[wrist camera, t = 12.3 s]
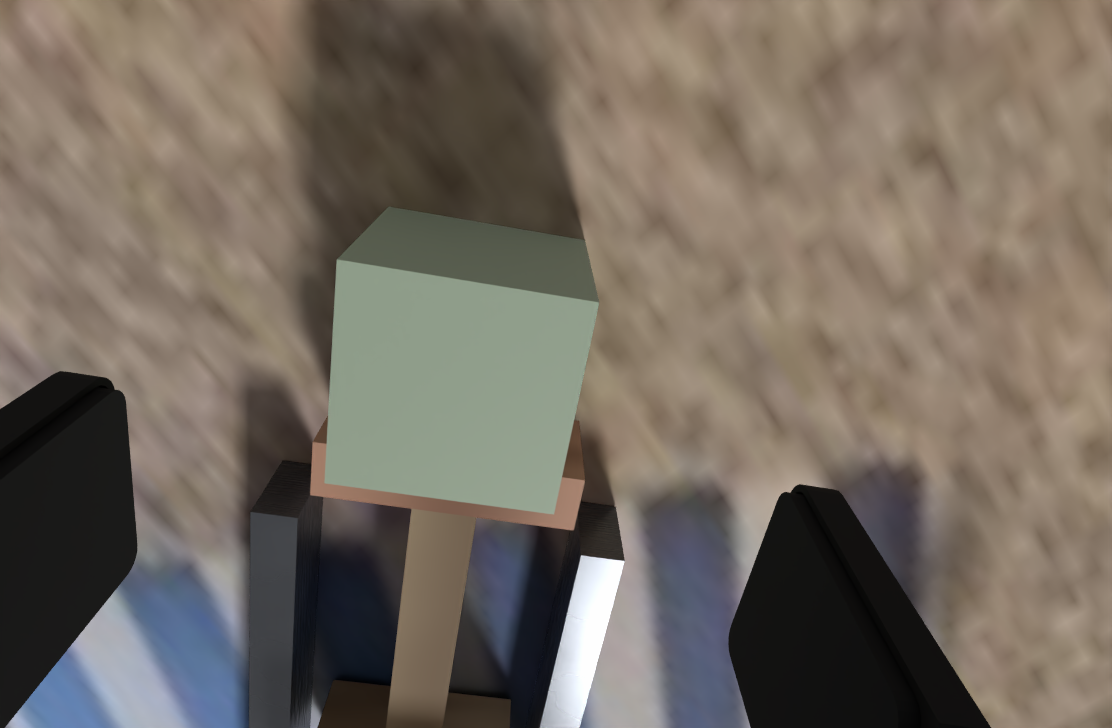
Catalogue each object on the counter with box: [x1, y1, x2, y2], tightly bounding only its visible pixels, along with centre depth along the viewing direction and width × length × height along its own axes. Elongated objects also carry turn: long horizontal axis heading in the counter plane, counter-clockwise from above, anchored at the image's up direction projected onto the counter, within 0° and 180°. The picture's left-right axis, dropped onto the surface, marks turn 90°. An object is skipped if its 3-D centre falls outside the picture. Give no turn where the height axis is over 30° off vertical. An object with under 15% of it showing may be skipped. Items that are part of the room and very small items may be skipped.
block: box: [324, 207, 599, 515], centre depth 17 cm, size 5×5×5 cm
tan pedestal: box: [310, 416, 585, 728], centre depth 20 cm, size 6×14×6 cm, turn 170°
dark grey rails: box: [249, 461, 625, 728], centre depth 23 cm, size 10×14×2 cm
